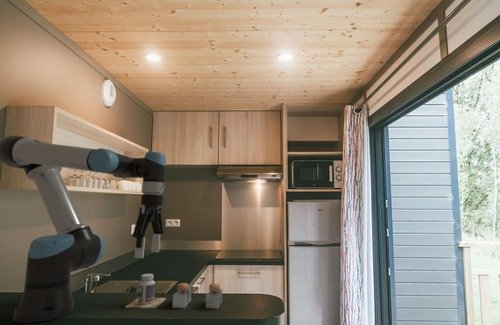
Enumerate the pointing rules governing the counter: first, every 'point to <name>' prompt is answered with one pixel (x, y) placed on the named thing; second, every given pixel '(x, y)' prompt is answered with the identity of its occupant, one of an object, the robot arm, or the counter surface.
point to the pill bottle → (146, 289)
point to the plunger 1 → (182, 287)
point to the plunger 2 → (214, 287)
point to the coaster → (151, 305)
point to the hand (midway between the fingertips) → (147, 254)
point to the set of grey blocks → (185, 297)
